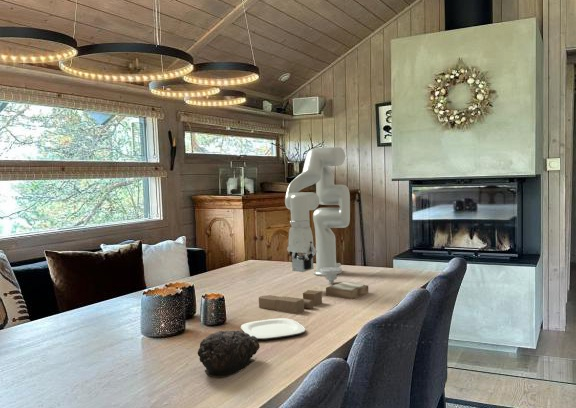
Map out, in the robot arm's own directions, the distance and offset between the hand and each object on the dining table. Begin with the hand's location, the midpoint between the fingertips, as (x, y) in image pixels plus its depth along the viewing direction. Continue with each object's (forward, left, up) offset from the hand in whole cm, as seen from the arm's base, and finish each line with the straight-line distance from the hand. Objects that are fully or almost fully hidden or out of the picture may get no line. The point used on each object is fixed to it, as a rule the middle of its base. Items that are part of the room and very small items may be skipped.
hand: (302, 267), depth 211 cm
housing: (0, 0, -1) cm, 1 cm away
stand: (-5, +18, -10) cm, 21 cm away
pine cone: (+76, +37, -10) cm, 85 cm away
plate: (+48, +26, -10) cm, 56 cm away
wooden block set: (+21, +11, -10) cm, 26 cm away
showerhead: (-18, +1, -10) cm, 21 cm away
